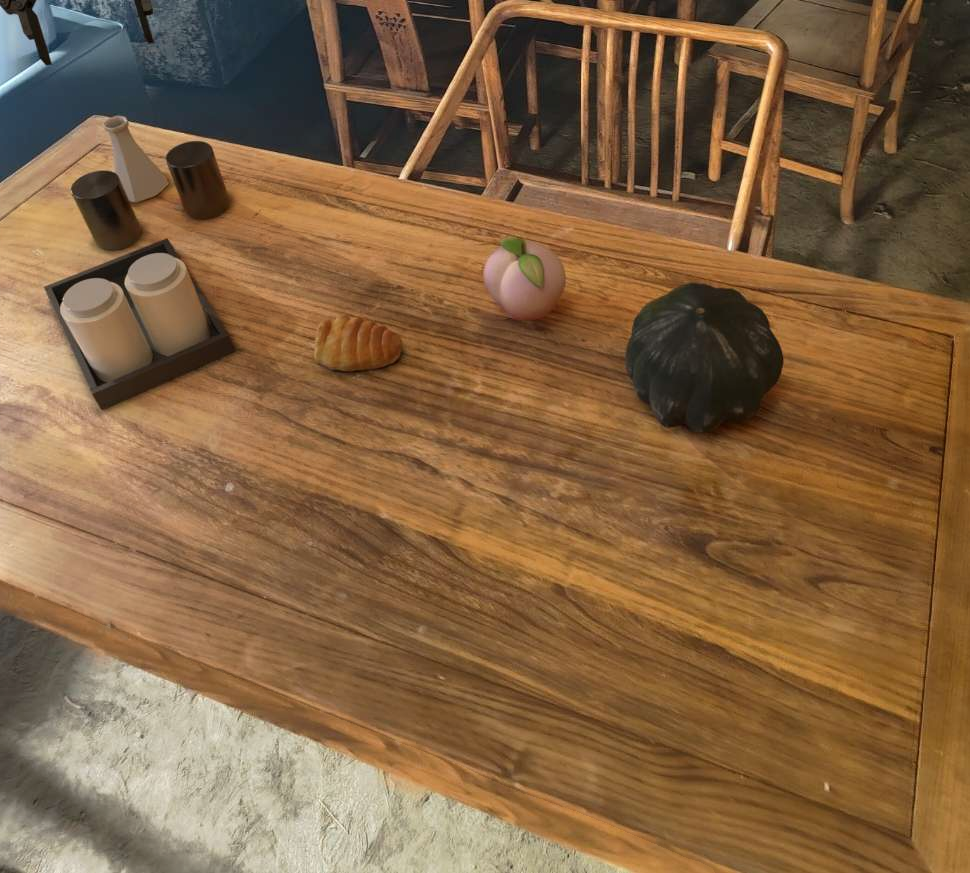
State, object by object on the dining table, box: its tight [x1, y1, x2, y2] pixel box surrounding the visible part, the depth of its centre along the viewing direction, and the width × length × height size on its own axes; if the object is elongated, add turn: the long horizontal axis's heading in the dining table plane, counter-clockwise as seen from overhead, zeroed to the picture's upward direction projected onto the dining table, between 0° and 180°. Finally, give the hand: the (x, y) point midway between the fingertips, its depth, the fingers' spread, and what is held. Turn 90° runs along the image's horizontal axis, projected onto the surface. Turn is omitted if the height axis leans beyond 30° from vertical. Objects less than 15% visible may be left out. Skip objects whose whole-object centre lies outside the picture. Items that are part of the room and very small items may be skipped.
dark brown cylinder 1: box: [70, 169, 143, 252], centre depth 118 cm, size 6×6×8 cm
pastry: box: [313, 314, 403, 372], centre depth 101 cm, size 9×7×4 cm
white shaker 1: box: [60, 278, 153, 383], centre depth 100 cm, size 7×7×10 cm
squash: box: [624, 282, 784, 435], centre depth 90 cm, size 14×15×15 cm
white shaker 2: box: [125, 253, 211, 356], centre depth 102 cm, size 7×7×10 cm
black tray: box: [43, 237, 236, 411], centre depth 108 cm, size 22×16×3 cm
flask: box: [101, 115, 170, 203], centre depth 124 cm, size 7×7×10 cm
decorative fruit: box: [482, 236, 567, 322], centre depth 101 cm, size 9×8×10 cm
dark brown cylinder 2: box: [165, 140, 231, 221], centre depth 121 cm, size 6×6×8 cm
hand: (98, 50), depth 123 cm, fingers open, 13 cm apart
